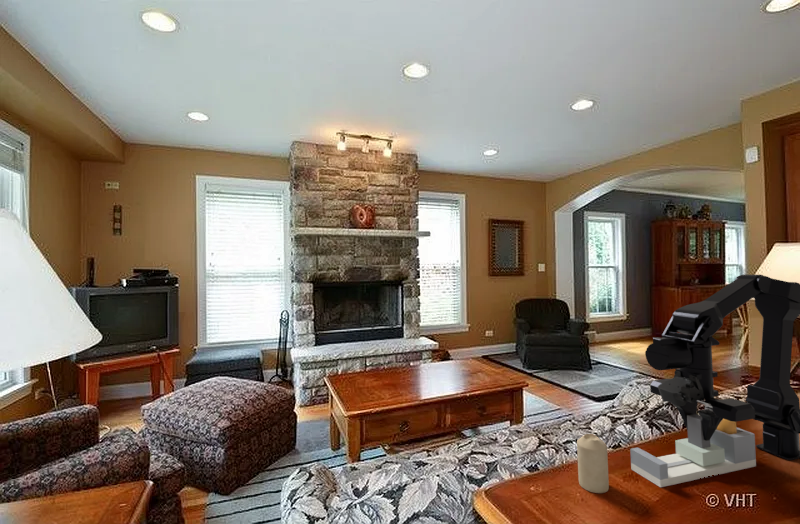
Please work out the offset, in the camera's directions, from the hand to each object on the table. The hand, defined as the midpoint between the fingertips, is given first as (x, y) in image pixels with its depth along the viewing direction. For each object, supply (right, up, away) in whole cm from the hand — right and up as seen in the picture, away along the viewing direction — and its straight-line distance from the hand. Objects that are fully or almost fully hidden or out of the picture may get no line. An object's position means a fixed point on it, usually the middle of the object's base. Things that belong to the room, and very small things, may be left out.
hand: (698, 436), depth 82 cm
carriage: (0, -4, 0) cm, 4 cm away
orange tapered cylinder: (+8, -2, +2) cm, 8 cm away
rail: (-2, -7, -1) cm, 7 cm away
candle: (-26, -8, -6) cm, 28 cm away
